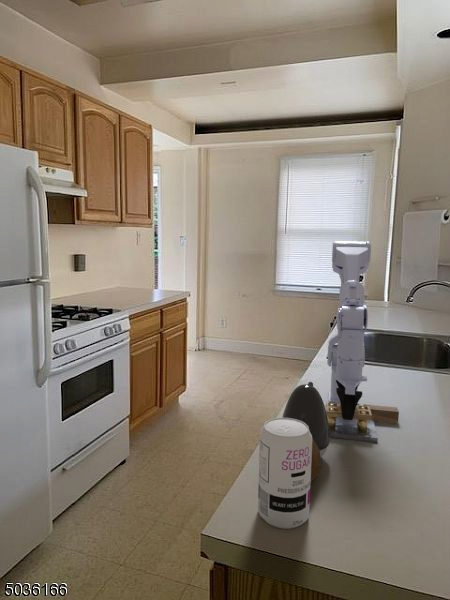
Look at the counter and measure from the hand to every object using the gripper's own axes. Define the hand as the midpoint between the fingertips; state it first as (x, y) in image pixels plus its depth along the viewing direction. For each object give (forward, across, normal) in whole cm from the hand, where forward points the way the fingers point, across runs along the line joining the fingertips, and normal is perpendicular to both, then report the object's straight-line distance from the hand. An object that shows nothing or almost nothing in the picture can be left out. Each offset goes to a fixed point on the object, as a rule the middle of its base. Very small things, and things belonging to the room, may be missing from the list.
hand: (347, 414), depth 102 cm
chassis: (+4, 0, 0) cm, 4 cm away
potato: (+4, -26, +10) cm, 28 cm away
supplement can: (+4, -36, +11) cm, 38 cm away
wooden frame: (0, 0, 0) cm, 0 cm away
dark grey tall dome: (+4, -16, +9) cm, 18 cm away
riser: (+4, +8, -8) cm, 13 cm away
